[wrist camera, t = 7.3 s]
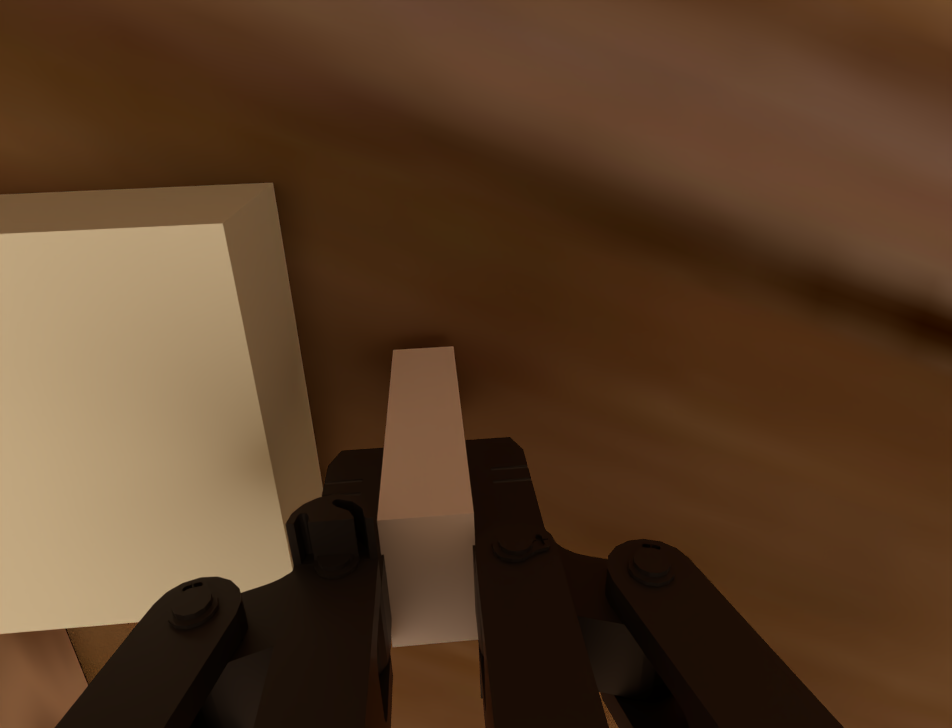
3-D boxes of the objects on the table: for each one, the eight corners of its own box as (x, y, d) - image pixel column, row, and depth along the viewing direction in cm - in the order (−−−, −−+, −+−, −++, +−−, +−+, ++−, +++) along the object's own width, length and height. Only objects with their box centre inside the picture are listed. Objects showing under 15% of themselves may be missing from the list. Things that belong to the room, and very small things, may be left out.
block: (325, 491, 19) (299, 608, 15) (46, 512, 18) (-60, 639, 14) (275, 180, 15) (222, 223, 11) (-81, 196, 14) (-275, 246, 10)
